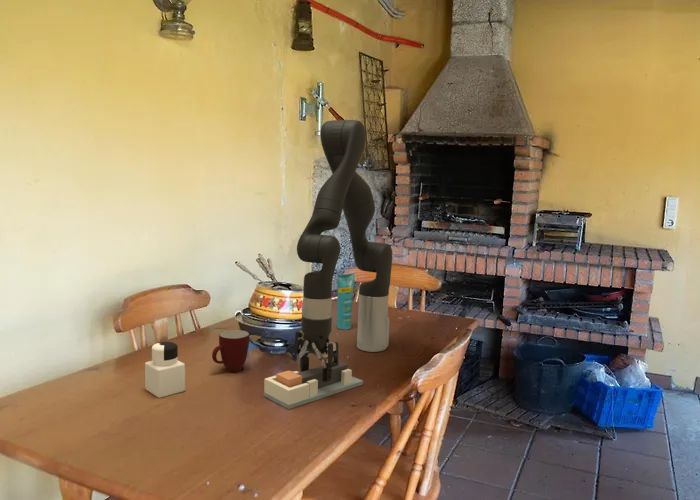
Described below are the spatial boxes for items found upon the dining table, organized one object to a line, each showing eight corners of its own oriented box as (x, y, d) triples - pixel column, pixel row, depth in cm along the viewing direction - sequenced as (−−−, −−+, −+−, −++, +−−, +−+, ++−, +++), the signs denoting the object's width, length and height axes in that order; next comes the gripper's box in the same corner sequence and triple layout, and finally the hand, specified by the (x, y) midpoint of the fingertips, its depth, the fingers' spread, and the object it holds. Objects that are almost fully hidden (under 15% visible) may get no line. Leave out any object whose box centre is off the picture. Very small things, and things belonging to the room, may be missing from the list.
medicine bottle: (171, 382, 152) (171, 337, 150) (185, 391, 147) (185, 344, 145) (145, 389, 147) (144, 343, 145) (158, 398, 142) (157, 350, 140)
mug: (224, 379, 155) (224, 342, 154) (205, 371, 161) (205, 335, 159) (254, 369, 163) (255, 334, 162) (236, 362, 169) (236, 328, 167)
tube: (341, 331, 202) (342, 276, 199) (331, 328, 205) (333, 273, 202) (356, 327, 207) (358, 273, 204) (346, 324, 211) (348, 271, 208)
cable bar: (336, 374, 159) (336, 356, 158) (349, 380, 155) (349, 361, 154) (275, 393, 145) (276, 373, 144) (288, 399, 141) (289, 379, 141)
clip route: (337, 373, 162) (337, 357, 162) (362, 384, 155) (363, 368, 155) (263, 395, 146) (263, 378, 145) (288, 409, 138) (289, 390, 138)
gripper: (347, 318, 145) (345, 381, 147) (310, 306, 155) (308, 365, 157) (324, 323, 140) (322, 388, 142) (287, 310, 150) (286, 371, 152)
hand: (315, 376), depth 150 cm, fingers open, 8 cm apart
